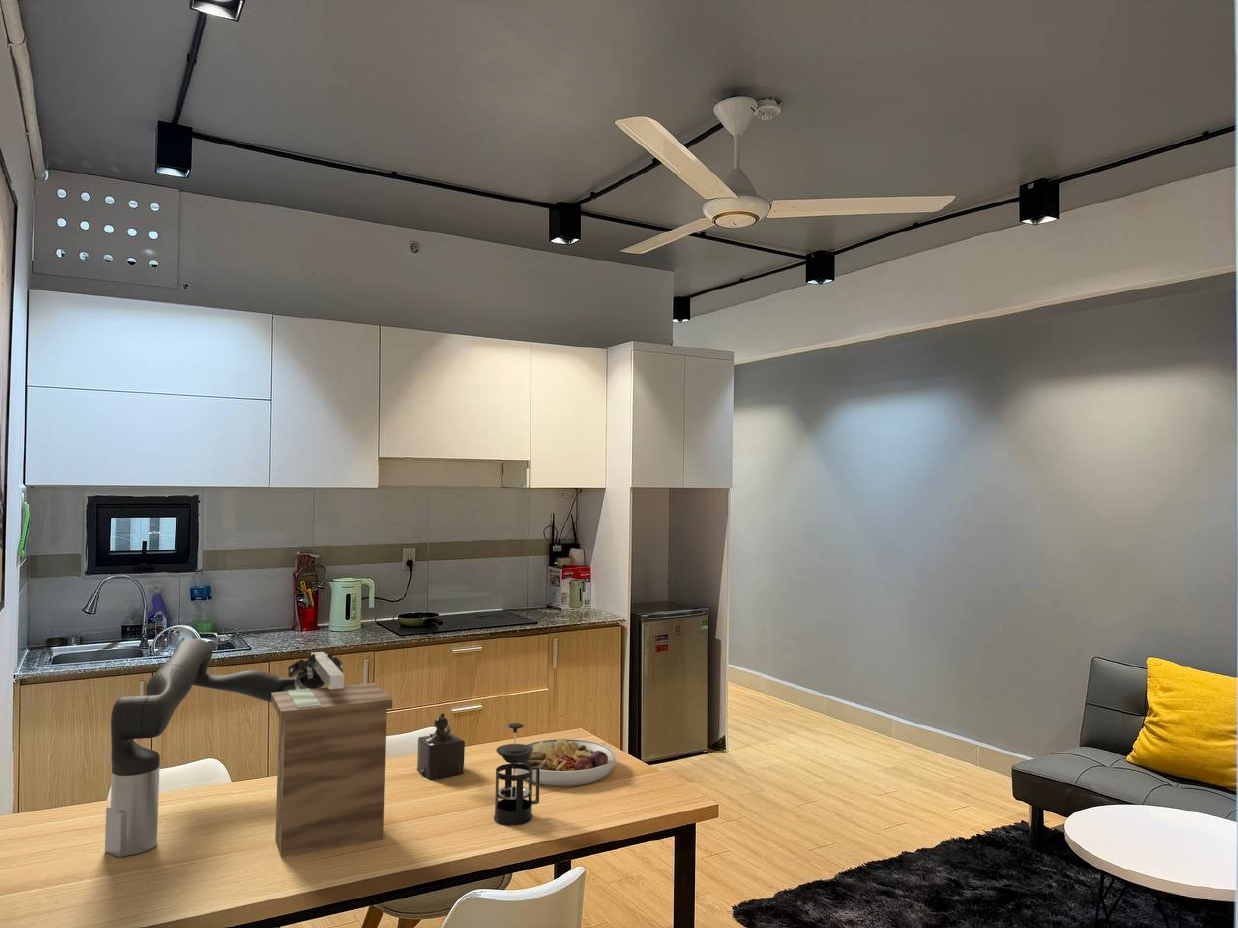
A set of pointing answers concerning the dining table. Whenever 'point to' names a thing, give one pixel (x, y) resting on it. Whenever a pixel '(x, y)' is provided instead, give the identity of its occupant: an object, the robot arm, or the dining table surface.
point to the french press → (514, 802)
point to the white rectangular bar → (328, 671)
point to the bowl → (569, 761)
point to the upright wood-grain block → (330, 767)
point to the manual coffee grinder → (440, 752)
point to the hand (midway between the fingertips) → (321, 657)
